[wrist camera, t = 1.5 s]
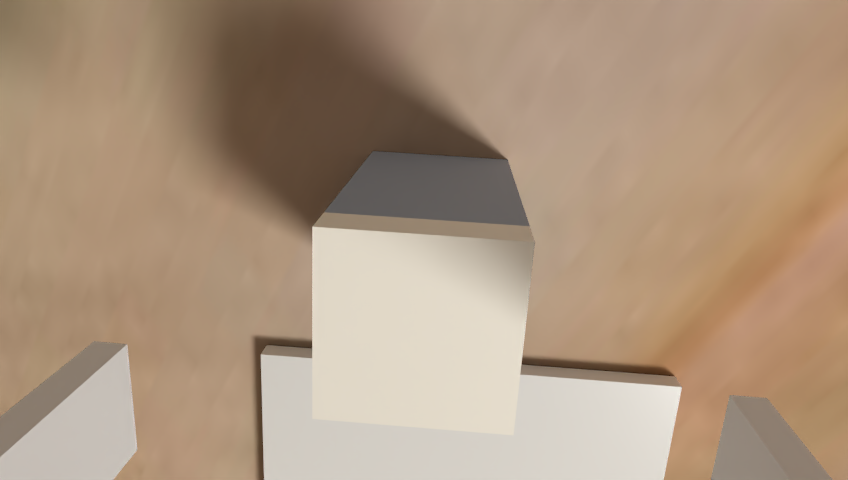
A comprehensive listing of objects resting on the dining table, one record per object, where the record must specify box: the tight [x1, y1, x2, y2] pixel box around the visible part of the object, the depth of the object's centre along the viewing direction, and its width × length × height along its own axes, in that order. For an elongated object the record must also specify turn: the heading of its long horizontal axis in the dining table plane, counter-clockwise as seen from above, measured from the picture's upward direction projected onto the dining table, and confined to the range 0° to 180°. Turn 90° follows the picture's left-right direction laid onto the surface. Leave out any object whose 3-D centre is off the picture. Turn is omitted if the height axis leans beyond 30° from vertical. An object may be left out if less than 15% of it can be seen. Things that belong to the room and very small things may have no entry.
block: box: [312, 151, 535, 435], centre depth 24 cm, size 6×6×12 cm
